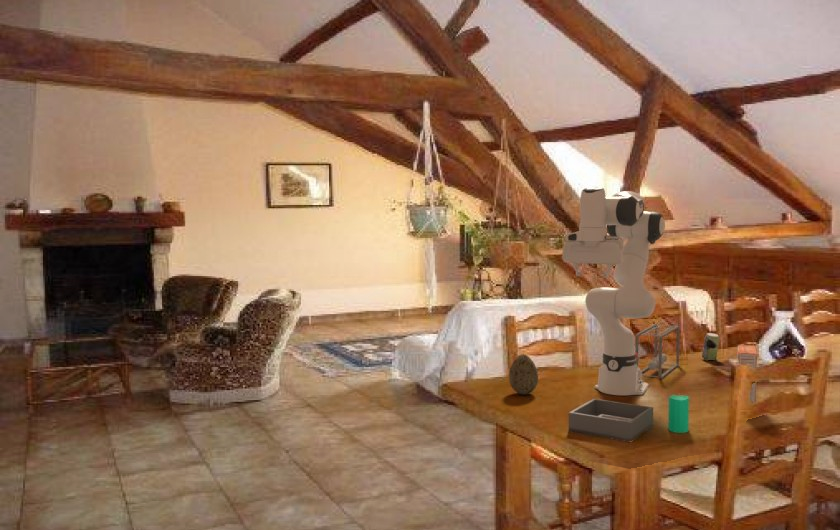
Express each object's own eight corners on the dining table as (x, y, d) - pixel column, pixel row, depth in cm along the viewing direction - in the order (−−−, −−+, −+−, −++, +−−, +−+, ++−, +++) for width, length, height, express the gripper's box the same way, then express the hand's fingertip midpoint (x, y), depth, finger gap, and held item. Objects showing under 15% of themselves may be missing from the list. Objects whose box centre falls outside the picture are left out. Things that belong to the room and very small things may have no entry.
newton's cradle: (660, 380, 307) (661, 336, 305) (634, 377, 312) (635, 333, 311) (679, 365, 332) (679, 324, 331) (654, 363, 338) (655, 323, 336)
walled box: (593, 416, 257) (593, 398, 257) (653, 425, 246) (653, 407, 245) (568, 431, 241) (568, 412, 241) (630, 442, 230) (631, 422, 229)
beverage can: (706, 358, 347) (706, 331, 346) (721, 360, 341) (722, 333, 340) (698, 360, 343) (699, 333, 342) (714, 362, 337) (715, 335, 336)
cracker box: (735, 403, 271) (737, 344, 270) (754, 404, 269) (756, 345, 267) (736, 413, 258) (738, 352, 257) (756, 415, 256) (757, 353, 254)
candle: (691, 429, 242) (692, 391, 241) (683, 434, 237) (684, 395, 236) (673, 425, 246) (673, 388, 245) (665, 430, 241) (665, 392, 240)
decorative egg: (503, 394, 287) (502, 354, 286) (520, 389, 295) (520, 350, 293) (526, 399, 279) (526, 358, 278) (543, 394, 287) (544, 354, 286)
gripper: (626, 235, 255) (625, 277, 256) (567, 234, 266) (567, 274, 267) (620, 236, 250) (620, 279, 251) (560, 235, 260) (560, 276, 262)
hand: (592, 276), depth 259 cm, fingers open, 8 cm apart
